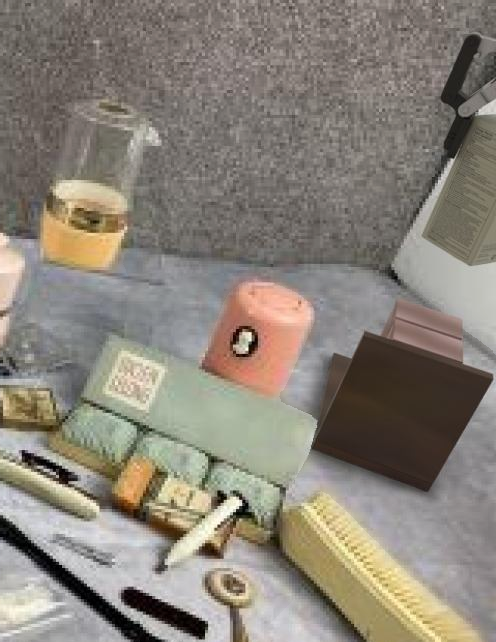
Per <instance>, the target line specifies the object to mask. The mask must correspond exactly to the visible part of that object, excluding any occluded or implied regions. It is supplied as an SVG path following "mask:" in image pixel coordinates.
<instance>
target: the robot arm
mask: <svg viewBox="0 0 496 642" xmlns="http://www.w3.org/2000/svg"><path fill="white" fill-rule="evenodd" d="M491 53H495V54H496V38H494V37H492V36H487V35H484V34H483V32H481V31H480V30H473V31H471V32H470V33H469V34H468V35H467V36H466V38H464V40H463V43H462V45H461V47H460V50H459V52H458V54H457V56H456V59H455V61H454V64H453V66H452V69H451V71H450V72H449V76H448V78H447V80H446V83H445V85H444V87H443V90H442V92H441V95H440V101H441V102H442V103H443V104H444V105H447V106H449V107H451V108H452V109H453V110H454V112H455V117H454V119H453V121H452V124H451V126H450V128H449V130H448V133H447V135H446V137H445V139H444V141H443V150H446V151H447V153H446V158H449V159H451V160H455V158H456V156H457V154H458V151H459V149H460V147H461V145H462V142H463V140H464V138H465V135H466V133H467V131H468V129H469V126H470V124H471V122H472V120H473V117H474V115H475V114H474V113H476V112H478V111H479V110H480V109H482V108H483V107H485V106H486V105H488V104H490V103H492V102H493V101H495V100H496V77H494V78H493V79H491V80H489V82H487V83H486V84H484V85H483V86H482V87H481V88H479V89H477V90H476V91H475V92H473V93H472V94H471V95H468V94H466V92H464V91H463V90H462V88H463V86H464V83H465V81H466V79H467V77H468V74H469V72H470V70H471V67H472V65H473V63H480V62H482V61H483V60H484V59H485V58H486V56H487V55H488V54H491Z"/></svg>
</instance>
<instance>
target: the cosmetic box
mask: <svg viewBox="0 0 496 642" xmlns="http://www.w3.org/2000/svg"><path fill="white" fill-rule="evenodd" d="M473 115H474V117H473V120H472V122H471V124H470V126H469V129H468V131H467V133H466V135H465V138H464V140H463V142H462V144H461V147H460V149H459V151H458V153H457V155H456V157H455V158H454V159H453V163H452V165H451V168H450V170H449V172H448V175H447V177H446V178H445V181H444V183H443V185H442V188H441V190H440V192H439V195H438V197H437V199H436V201H435V204H434V206H433V208H432V210H431V213H430V215H429V217H428V220H427V222H426V224H425V227H424V229H423V231H422V232H421V233H422V234H421V238H423V239H424V240H426V241H428V242H429V243H430V244H432V245H434V246H436V247H437V248H439V249H440V250H442V251H444V252H445V253H447V254H448V255H450V256H452V257H453V258H455V259H457V260H458V261H461V262H462V263H463V264H466V265H467V266H469V267H474V266H481V265H487V264H488V265H489V264H492V263H496V113H493V114H473Z"/></svg>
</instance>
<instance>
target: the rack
mask: <svg viewBox="0 0 496 642" xmlns="http://www.w3.org/2000/svg"><path fill="white" fill-rule="evenodd" d="M463 339H464V336H463V318H460V317H457V316H453V315H451V314H448V313H445V312H441V311H439V310H435V309H433V308H430V307H427V306H423V305H420V304H417V303H414V302H411V301H407V300H405V299H402V298H399V297H398V298H397V299H396V301H395V303H394V305H393V307H392V309H391V312H390V313H389V316H388V317H387V320H386V322H385V323H384V326H383V328H382V330H381V332H380V334H376V333H373V332H370V331H367V330H364V331H363V333H362V335H361V337H360V339H359V342H358V344H357V346H356V348H355V350H354V353H353V355H352V357H348V356H345V355H343V354H339V353H337V352H333V353H332V356H331V358H330V361H329V366H328V370H327V375H326V380H325V384H324V388H323V393H322V398H321V402H320V406H319V411H318V416H317V421H316V425H317V428H316V427H315V429H316V430H315V429H314V434H313V438H312V444H311V449H312V450H314V451H317V452H320V453H323V454H325V455H328V456H331V457H333V458H336V459H339V460H342V461H344V462H347V463H350V464H352V465H355V466H357V467H360V468H363V469H365V470H368V471H371V472H374V473H376V474H379V475H382V476H383V477H386V478H390V479H392V480H396V481H398V482H401V483H403V484H406V485H408V486H412V487H415V488H417V489H419V490H423V491H425V492H430V490H431V488H432V487H433V484H434V483H435V482H436V480H437V478H438V477H439V475H440V473H441V471H442V470H443V468H444V466H445V464H446V463H447V461H448V459H449V457H450V455H451V454H452V452H453V450H454V449H455V447H456V445H457V444H458V442H459V440H460V439H461V437H462V435H463V433H464V431H465V430H466V428H467V426H468V424H469V423H470V421H471V419H472V418H473V416H474V414H475V413H476V411H477V409H478V407H479V406H480V404H481V402H482V400H483V399H484V397H485V395H486V393H487V392H488V390H489V388H490V386H491V385H492V383H493V381H494V373H492V372H489V371H486V370H482V369H479V368H477V367H474V366H471V365H467V364H465V363H464V343H463V342H464V341H463Z"/></svg>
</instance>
